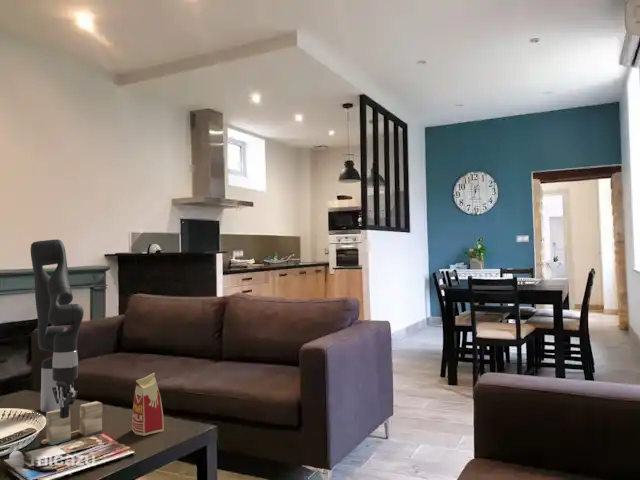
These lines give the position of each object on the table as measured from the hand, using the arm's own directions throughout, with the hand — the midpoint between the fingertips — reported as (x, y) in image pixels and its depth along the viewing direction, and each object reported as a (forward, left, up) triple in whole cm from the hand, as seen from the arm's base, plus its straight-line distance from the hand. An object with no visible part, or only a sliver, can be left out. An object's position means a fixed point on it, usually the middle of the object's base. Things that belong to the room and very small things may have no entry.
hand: (64, 417), depth 165 cm
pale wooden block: (-3, +11, -9) cm, 14 cm away
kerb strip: (-6, +5, -9) cm, 12 cm away
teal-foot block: (-3, 0, -8) cm, 9 cm away
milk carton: (+11, +24, -9) cm, 28 cm away
